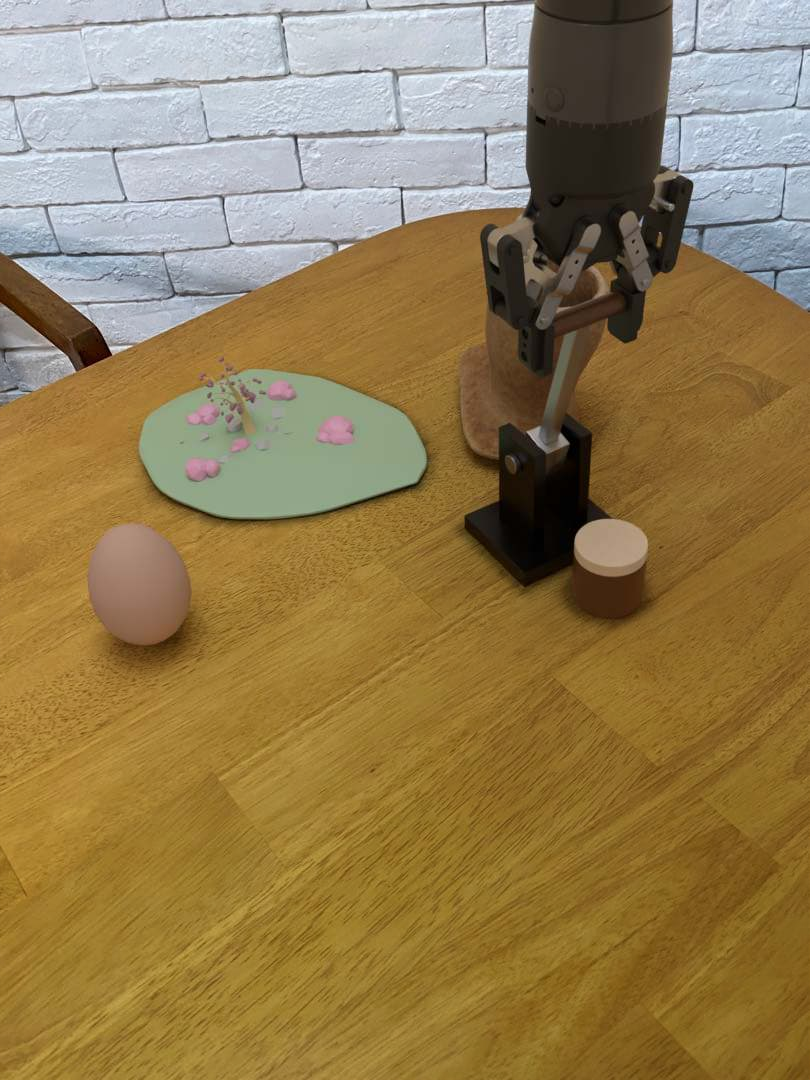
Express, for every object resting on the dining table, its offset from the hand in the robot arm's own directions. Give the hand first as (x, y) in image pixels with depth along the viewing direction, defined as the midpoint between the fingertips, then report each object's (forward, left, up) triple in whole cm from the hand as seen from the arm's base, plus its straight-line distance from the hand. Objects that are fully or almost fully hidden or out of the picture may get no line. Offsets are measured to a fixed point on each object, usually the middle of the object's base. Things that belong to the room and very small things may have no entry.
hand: (579, 352), depth 72 cm
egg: (+10, +29, -18) cm, 36 cm away
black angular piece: (+3, 0, -18) cm, 18 cm away
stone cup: (+16, -8, -18) cm, 26 cm away
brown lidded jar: (-4, 0, -18) cm, 18 cm away
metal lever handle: (+1, 0, -4) cm, 4 cm away
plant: (+25, +11, -18) cm, 33 cm away
